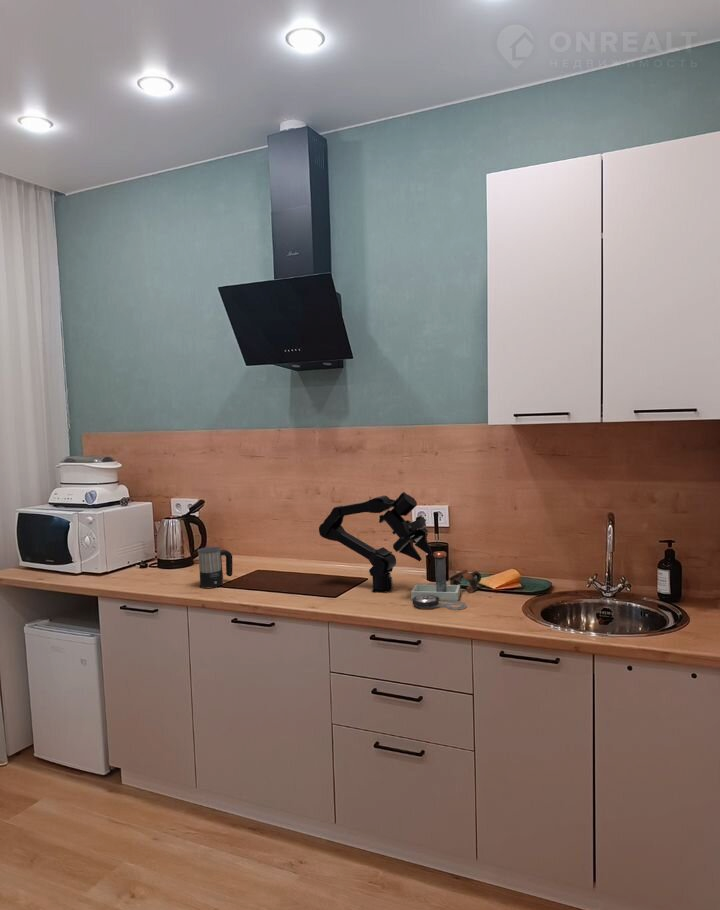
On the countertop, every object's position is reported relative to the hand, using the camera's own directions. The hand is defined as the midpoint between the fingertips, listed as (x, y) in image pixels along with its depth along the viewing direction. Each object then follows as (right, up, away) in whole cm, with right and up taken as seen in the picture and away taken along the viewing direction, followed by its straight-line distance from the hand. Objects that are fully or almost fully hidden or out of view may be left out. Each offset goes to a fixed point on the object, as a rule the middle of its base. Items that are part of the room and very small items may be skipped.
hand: (426, 557), depth 237 cm
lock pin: (+5, -13, -3) cm, 14 cm away
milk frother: (-84, -16, +31) cm, 91 cm away
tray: (+3, -14, -2) cm, 14 cm away
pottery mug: (+15, -13, +6) cm, 21 cm away
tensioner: (+3, -14, -13) cm, 20 cm away
